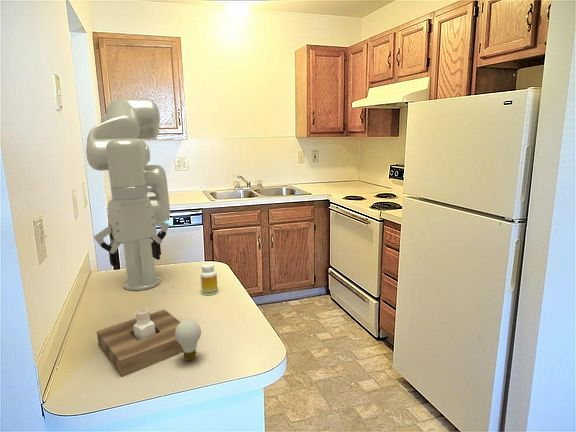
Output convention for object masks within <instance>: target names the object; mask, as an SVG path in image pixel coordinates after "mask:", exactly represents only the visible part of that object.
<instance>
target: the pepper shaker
mask: <svg viewBox="0 0 576 432" xmlns="http://www.w3.org/2000/svg"><path fill="white" fill-rule="evenodd" d="M150 314H151V313H150V309H148V308H141V309H138V310H136V311H135V319H136V320H137V323H136V324H134V326H133V328H134V336H135V339H136V340H140V339H143V338H145V337H148V336H151V335H154V334H156V333H155V324H154V322H152V321H151V320H150Z"/></svg>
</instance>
